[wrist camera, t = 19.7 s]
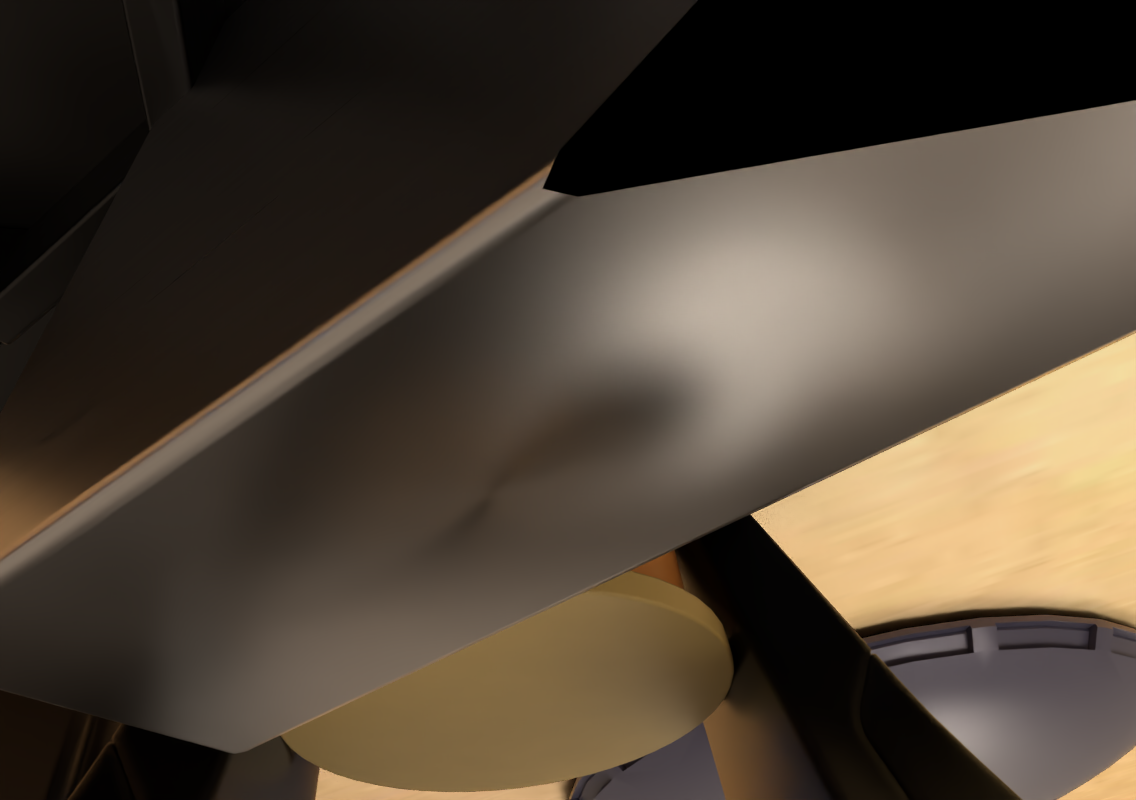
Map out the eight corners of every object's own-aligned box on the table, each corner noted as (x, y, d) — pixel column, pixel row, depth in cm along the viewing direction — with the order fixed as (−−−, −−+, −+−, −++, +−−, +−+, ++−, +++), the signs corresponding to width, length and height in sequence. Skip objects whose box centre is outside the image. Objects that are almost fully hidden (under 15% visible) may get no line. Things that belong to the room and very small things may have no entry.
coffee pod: (643, 509, 13) (702, 766, 10) (353, 535, 12) (328, 812, 9) (673, 277, 9) (776, 567, 6) (277, 303, 9) (203, 623, 6)
